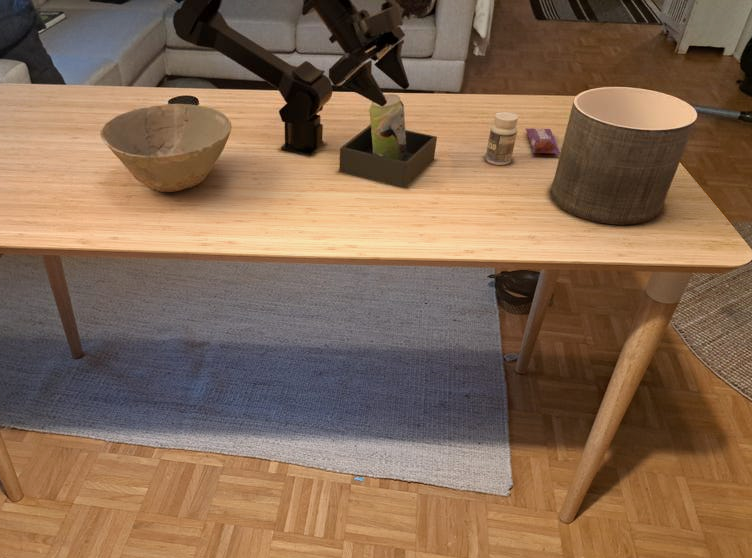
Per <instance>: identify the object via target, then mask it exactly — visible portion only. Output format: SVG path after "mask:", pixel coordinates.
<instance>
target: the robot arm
mask: <svg viewBox="0 0 752 558" xmlns="http://www.w3.org/2000/svg"><path fill="white" fill-rule="evenodd" d="M302 1H303V2H302V3H303V5H302V9H301V14H302V16H307V15H310V14H311V13H312V14H313V13H314V12H315V13H316V14H317V15H318V17H319V18H320V20H321V21H322V23H323V24H324V25H325V27H326V28H327V29H328V31H329V33H330V35H331V36H330V37H328V40H329V41H330V43H331V44H334V43H337V44H338V45H339V47H340V49H341V50H342V51H343V52H344V54H343V55H342V56H341V57H340V58H339V59H338V60H337V61H336V62H335V63H333V65H332V66H331V67H330V68H329V69H328V76H327V75H325V74H324V73H326V71H325V70H323V69H320V68H317V67H316V66H314V64H312V63H311V62H309V61H308V60H305V61H304V62H302V63H301V64H299V65H298V66H296V65H293V64H290V63H288V62H287V61H285V60H284V59H282V58H280V57H278V56H277V55H275V54H274V53H272V52H271V51H270V50H267V49H266V48H264V47H263V46H261V45H259V44H258V43H256V42H255V41H253V40H251V39H250V38H248V37H247V36H245V35H243V33H242V34H241V33H240V32H239V31H237V30H235V29H234V28H232V27H231V26H230V25H228V23H227V21H226V20H225V18H224V16H223V15H222V12H220V11H219V10H220V9H221V7H222V4H223V0H184V1H183V2H182V4H181V6H180V8H177V10H176V11H174V14H173V16H172V24H173V28H174V31H175V35H176V36H177V38H179V39H180V40H182V41H184V42H186V43H187V44H190V45H192V46H193V45H194V46H196V47H200V48H206V49H213V50H215V51H217V52H218V53H220V54H221V55H223V56H225V57H226V58H228V59H230V60H231V61H233V62H235V64H238V66H239V65H240V66H241V67H243V68H244V69H245V70H247V71H249V72H250V73H252V74H253V75H255V76H257V77H258V78H259V79H262V80H263V81H265V82H266V83H268V84H270V85H271V86H273V87H275V88H276V89H277V90H278V92H279V94H280V95H281V97H282V99H283V100H284V102H285V104H284V105H283V106H282V107H281V108H280V109H279V110H278V114H279V116H280V120H281V122H283V124H284V144H283V145H281V146H280V150H281V151H285V152H291V153H295V154H300V155H305V156H312V155H313V154H314V153H315V152H316V151H317V150H318V149H320V147H322V146H323V145H324V143H325V142H324V140H323V129H324V127H323V124H322V123H321V115H320V114H318V113H319V112H321V111H323V109H324V106H325V105H326V104H327V103H328V102H329V101H330V100H331V98H332V95H333V86H334V87H338V86H339V85H340V88H341V89H344V88H345V89H347V90H349V91H351V92H354V93H355V94H357V95H360V96H362V97H363V98H366V99H367V100H369V101H371V102H372V101H373V102H375V103H376V104H378V105H380V106H384V105H385V104H386V103H387V101H386V99H385V97H384V95H385V94H384V93H383V91H382V89H381V87H380V85H379V84H378V82H377V80H376V78H375V77H374V75H373V74H372V69H373V68H372V65H373V62H375V63H374V66H375V67H376V68H377V69H379V71H381V72H382V73H383V74H384V75H386V76H387V77H388V78H389V79H390V80H391V81H393V82H394V83H395V84H396V85H398V86H399V87H400V88H401V89H403V90H405V91H406V90H407V89H408V88H409V87H410V82H409V78H408V75H407V73H406V72H407V71H406V69H405V66H404V63H403V59H402V54H401V53H402V48H403V45H404V43H405V39H404V38H405V36H406V33H405V32H404V31H403V29H402V28H401V26H403V25H404V22H403V17H402V15H403V14H404V13H405V10H404V8H403V7H401V5H400V3H398V2H397V1H396V0H387V1H385V2H383V3H382V4H381V7H380V8H381V9H380V10H379V11H377V12H375V13H373V14H370V13H369V12H368V10H366V9H362V10H359V9H358V8H357V6H356V4H355V3H354V2H353V0H302ZM332 84H333V86H332Z"/></svg>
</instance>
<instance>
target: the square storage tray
mask: <svg viewBox="0 0 752 558" xmlns="http://www.w3.org/2000/svg"><path fill="white" fill-rule="evenodd" d="M405 136H406V152H407V156H406V158H405V159H404V160H403V161H400V160H396V159H392V158H387V157H383V156H379V155H374V154H373V144H372V134H371V124H369V125H368V126H366V128H364V129H363V130H361V131H360V132H359V133H357V134H356V135H355V136H354V137H352V138H351V139H350V140H348V141H347V142H345V143H344V144H343V145H342V146H341V147H340V148H339V168H338V169H339V170H338V172H339V173H342V174H346V175H350V176H354V177H358V178H362V179H366V180H371V181H375V182H379V183H382V184H386V185H390V186H394V187H397V188H403V189H406V188H407V187H408V186H409V185H411V183H412V182H413V181H414V180H415V179H416V178H417V177H418V176H419V175H420V174H422V173H423V171H424V170H426V169H427V168H428V167H429V166H430V165H431V164H432V163H433V162H434V161H435V155H436V148H437V142H438V141H437V139H438V136H436V135H431V134H427V133H422V132H417V131H412V130H407V129H405Z"/></svg>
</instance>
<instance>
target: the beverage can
mask: <svg viewBox="0 0 752 558" xmlns="http://www.w3.org/2000/svg"><path fill="white" fill-rule="evenodd" d="M383 95H384V97H385V99H386V101H387V103H386V104H385V105H384V106H380V105H378V104H376V103H375V102H373V101H371V104H370V107H369V111H368V112H369V122H370V125H371V134H372V144H373V154H374V155H379V156H383V157H387V158H392V159H396V160H400V161H403V160H404V159H405V158H406V156H407V152H406V136H405V130H406V120H405V105H404V103H403V101H402V100H401V98H400V97H401V96H399V95H397V94H393V93H388V94H386V93H385V94H383Z"/></svg>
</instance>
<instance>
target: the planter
mask: <svg viewBox="0 0 752 558" xmlns="http://www.w3.org/2000/svg"><path fill="white" fill-rule="evenodd" d="M569 114H570V115H569V117H568V121H567V125H566V128H565V134H564V137H563V141H562V146H561V149H560V154H559V157H558V161H557V165H556V169H555V173H554V177H553V181H552V184H551V187H550V196H551V199H552V200H553V202H554V203H555V204H556V205H557V206H558V207H559V208H560V209H561V208H562V209H563V210H564V211H566V212H568V213H570V214H571V215H574V216H576V217H578V218H582V219H584V220H589V221H591V222H595V223H596V222H597V223H601V224H608V225H638V224H642V223H646V222H649V221H651V220H653V219H655V218H656V217H658V216H659V215H660V214H661V212H662V210H663V207H664V204H665V201H666V199H667V198H666V197H667V196H668V193H669V190H670V188H671V186H672V183H673V180H674V178H675V175H676V172H677V170H678V168H679V165H680V164H681V163H680V162H681V160H682V157H683V155H684V153H685V150H686V148H687V145H688V143H689V140H690V136H691V134H692V133H693V129H694V127H695V124H696V122H697V119H698V112H697V110H696V109H695V108H694V107H693V106H692V105H691V104H689V103H688V102H687V101H685V100H683V99H680V98H678V97H676V96H673V95H670V94H668V93H667V94H666V93H663V92H660V91H656V90H650V89H645V88H639V87H629V86H628V87H626V86H605V87H596V88H591V89H588V90H585V91H582V92H580V93H578V94H576V96H575V97H574V98H573V101H572V104H571V109H570V113H569Z"/></svg>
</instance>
